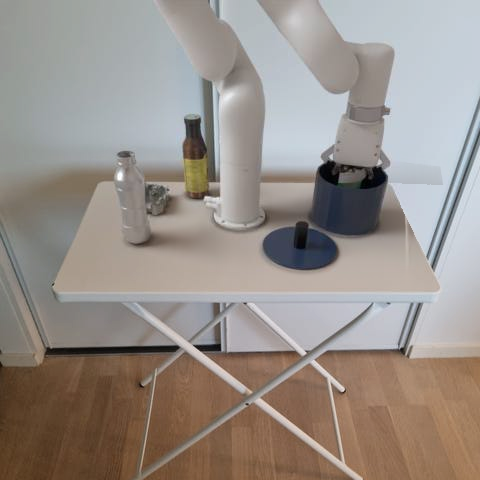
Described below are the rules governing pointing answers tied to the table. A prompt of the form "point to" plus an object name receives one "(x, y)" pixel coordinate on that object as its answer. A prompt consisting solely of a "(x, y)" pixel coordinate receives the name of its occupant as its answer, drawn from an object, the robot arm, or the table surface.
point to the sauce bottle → (195, 158)
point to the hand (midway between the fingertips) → (349, 190)
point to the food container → (351, 176)
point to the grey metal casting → (155, 198)
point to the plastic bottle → (132, 198)
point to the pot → (347, 204)
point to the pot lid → (299, 247)
